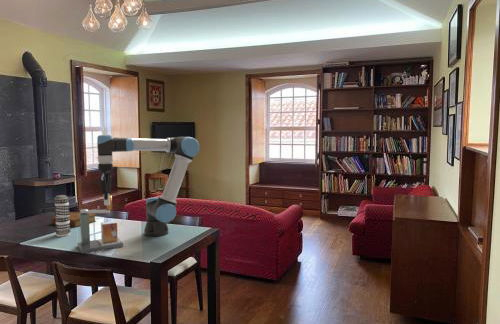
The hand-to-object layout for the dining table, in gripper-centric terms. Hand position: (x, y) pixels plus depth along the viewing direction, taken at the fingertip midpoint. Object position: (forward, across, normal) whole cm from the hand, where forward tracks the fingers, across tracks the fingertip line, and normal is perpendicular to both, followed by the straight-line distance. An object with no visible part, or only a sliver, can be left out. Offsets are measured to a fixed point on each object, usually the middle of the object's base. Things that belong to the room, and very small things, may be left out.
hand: (107, 204), depth 219 cm
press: (+24, -2, -6) cm, 25 cm away
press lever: (+5, -3, -7) cm, 9 cm away
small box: (+22, -4, 0) cm, 22 cm away
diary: (+25, -58, -44) cm, 77 cm away
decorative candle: (+25, -28, -38) cm, 53 cm away
